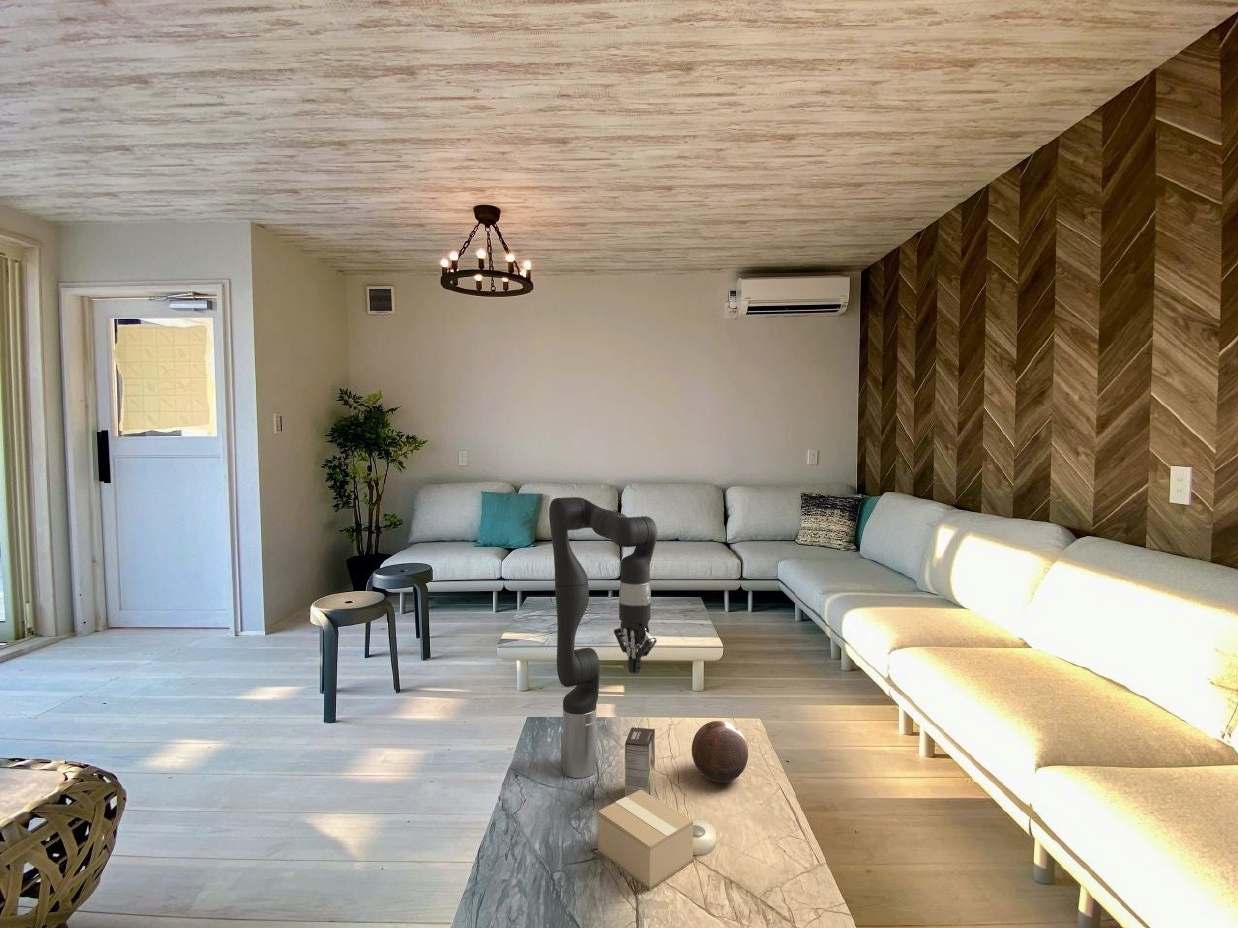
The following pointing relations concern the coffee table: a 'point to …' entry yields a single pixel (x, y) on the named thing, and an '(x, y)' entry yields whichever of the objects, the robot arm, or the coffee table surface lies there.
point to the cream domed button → (703, 838)
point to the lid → (645, 819)
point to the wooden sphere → (719, 751)
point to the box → (645, 854)
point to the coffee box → (640, 761)
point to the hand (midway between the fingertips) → (634, 672)
